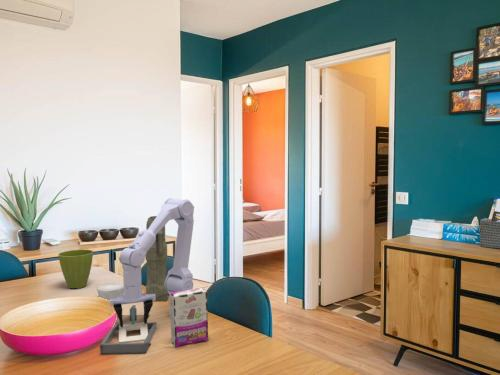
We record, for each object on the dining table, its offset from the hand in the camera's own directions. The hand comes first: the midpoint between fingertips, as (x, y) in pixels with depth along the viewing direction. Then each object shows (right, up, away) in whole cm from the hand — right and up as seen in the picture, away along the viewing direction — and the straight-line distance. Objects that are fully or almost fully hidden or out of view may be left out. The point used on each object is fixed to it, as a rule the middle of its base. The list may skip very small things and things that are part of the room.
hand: (133, 324), depth 142 cm
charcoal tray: (0, -4, -5) cm, 6 cm away
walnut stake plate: (-5, -3, +11) cm, 12 cm away
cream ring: (0, -2, -1) cm, 2 cm away
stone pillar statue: (0, -2, +37) cm, 37 cm away
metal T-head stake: (-3, -2, +12) cm, 13 cm away
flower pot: (-42, -1, +57) cm, 70 cm away
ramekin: (-20, -2, +39) cm, 44 cm away
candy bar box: (+19, -4, -4) cm, 20 cm away
